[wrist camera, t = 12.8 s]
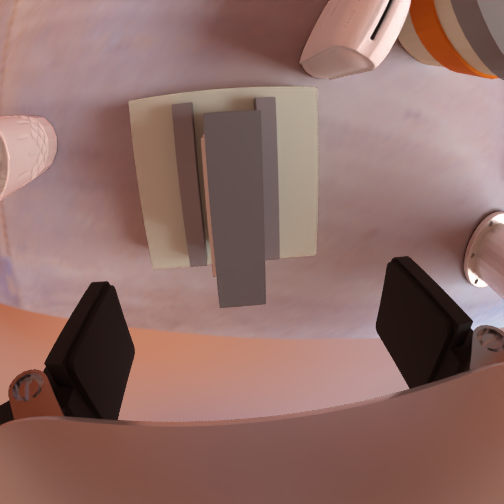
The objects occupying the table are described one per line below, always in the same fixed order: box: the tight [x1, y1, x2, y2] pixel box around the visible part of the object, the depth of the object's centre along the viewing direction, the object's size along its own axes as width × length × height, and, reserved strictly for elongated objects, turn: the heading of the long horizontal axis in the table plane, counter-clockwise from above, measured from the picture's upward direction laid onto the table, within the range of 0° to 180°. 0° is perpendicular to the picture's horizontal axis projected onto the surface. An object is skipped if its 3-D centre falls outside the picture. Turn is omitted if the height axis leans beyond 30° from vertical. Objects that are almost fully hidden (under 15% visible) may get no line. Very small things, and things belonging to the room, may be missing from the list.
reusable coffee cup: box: [397, 0, 504, 80], centre depth 18 cm, size 13×13×15 cm
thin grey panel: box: [201, 110, 266, 308], centre depth 22 cm, size 3×12×10 cm, turn 2°
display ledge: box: [128, 86, 318, 269], centre depth 28 cm, size 16×16×6 cm
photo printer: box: [300, 0, 411, 79], centre depth 19 cm, size 10×4×12 cm, turn 156°
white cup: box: [0, 115, 57, 201], centre depth 22 cm, size 8×8×10 cm
